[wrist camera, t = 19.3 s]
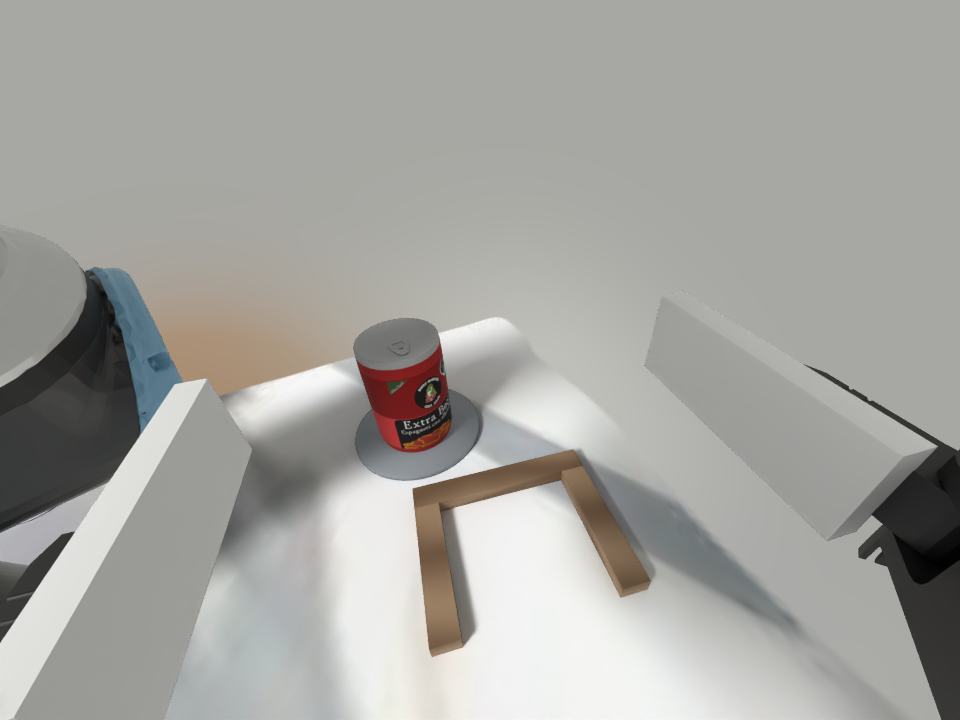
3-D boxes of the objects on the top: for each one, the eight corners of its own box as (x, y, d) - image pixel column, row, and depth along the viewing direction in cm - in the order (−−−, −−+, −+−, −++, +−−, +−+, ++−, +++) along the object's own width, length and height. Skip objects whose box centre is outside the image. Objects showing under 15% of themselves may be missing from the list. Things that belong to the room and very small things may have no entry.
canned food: (409, 468, 35) (383, 375, 29) (366, 427, 40) (335, 341, 34) (469, 424, 39) (457, 335, 33) (423, 392, 44) (405, 309, 38)
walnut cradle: (647, 589, 26) (650, 580, 25) (432, 656, 24) (429, 649, 23) (572, 457, 35) (573, 449, 35) (415, 497, 33) (412, 488, 33)
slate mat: (330, 455, 38) (328, 451, 38) (405, 381, 47) (404, 377, 47) (438, 500, 33) (437, 495, 32) (498, 406, 42) (498, 402, 42)
